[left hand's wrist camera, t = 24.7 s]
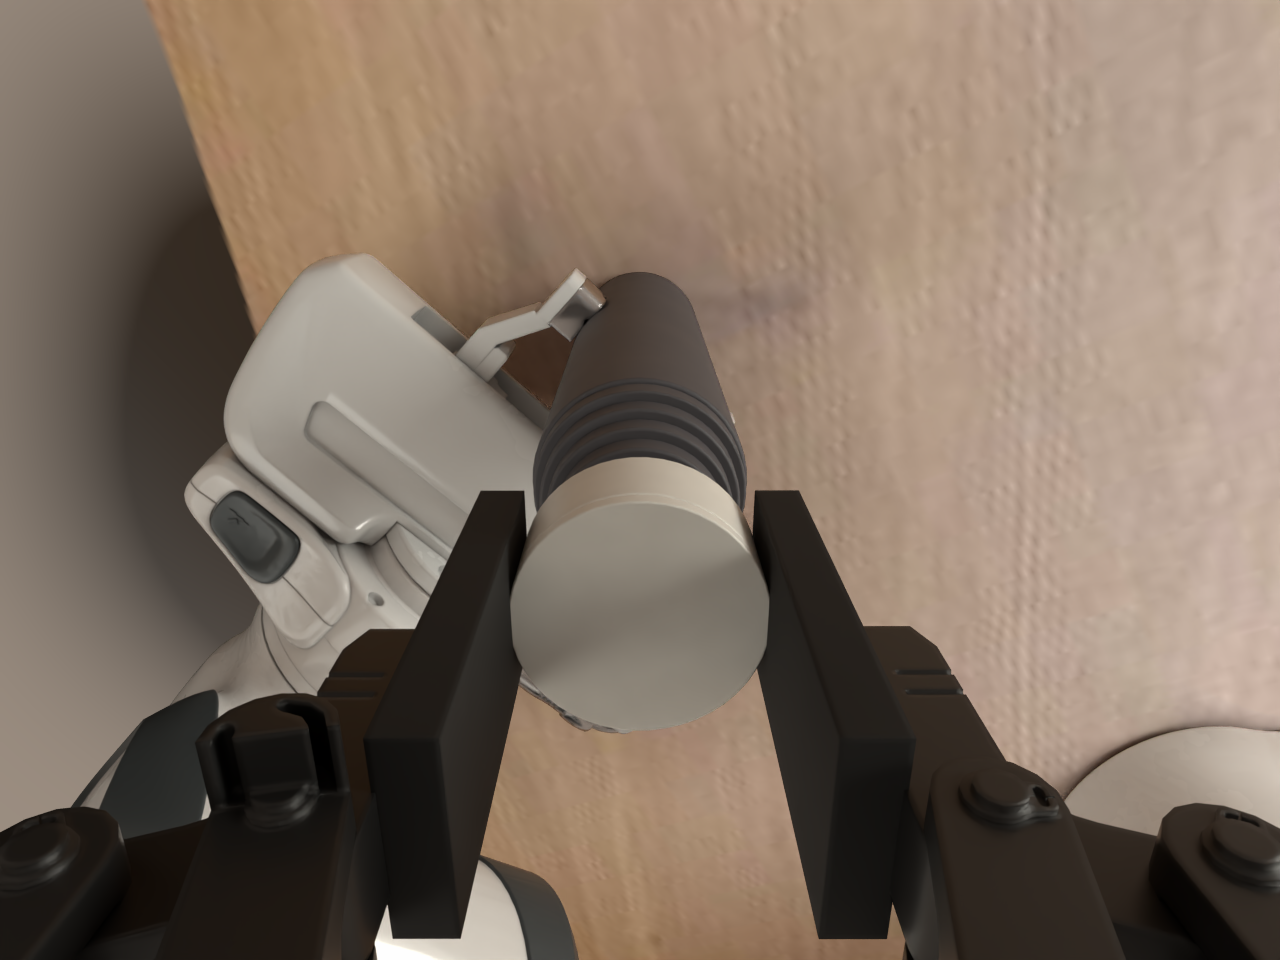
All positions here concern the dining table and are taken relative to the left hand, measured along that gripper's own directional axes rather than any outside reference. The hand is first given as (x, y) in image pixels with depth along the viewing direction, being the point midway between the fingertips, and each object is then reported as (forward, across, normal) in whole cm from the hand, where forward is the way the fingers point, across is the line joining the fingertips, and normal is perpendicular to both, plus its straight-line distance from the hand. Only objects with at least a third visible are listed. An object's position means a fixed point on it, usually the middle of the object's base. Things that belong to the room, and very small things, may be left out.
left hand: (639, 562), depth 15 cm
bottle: (+21, 0, 0) cm, 21 cm away
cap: (-2, 0, 0) cm, 2 cm away
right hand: (+15, -1, -1) cm, 15 cm away
